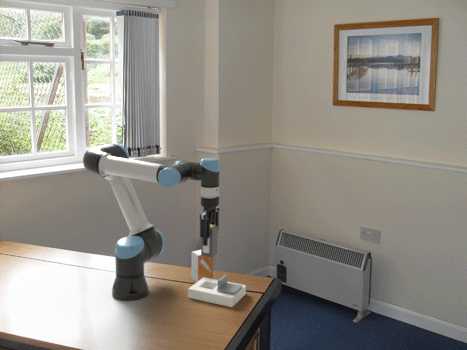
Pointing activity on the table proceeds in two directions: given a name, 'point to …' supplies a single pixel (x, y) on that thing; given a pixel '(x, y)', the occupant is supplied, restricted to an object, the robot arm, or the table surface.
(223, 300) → the socket
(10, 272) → the table surface
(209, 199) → the robot arm
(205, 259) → the small box
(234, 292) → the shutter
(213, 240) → the plug
